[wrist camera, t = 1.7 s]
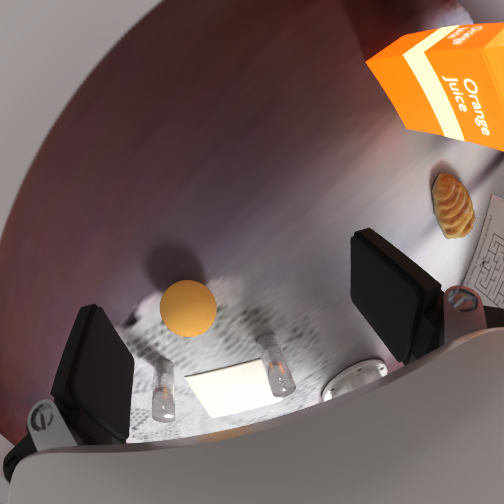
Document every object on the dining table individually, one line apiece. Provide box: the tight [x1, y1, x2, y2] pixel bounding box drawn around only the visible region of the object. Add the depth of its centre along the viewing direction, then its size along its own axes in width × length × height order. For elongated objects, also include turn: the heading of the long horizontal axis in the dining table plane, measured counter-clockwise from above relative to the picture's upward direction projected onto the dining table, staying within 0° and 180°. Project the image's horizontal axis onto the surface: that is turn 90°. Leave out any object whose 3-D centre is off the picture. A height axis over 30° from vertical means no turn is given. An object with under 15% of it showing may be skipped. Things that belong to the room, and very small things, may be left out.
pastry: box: [432, 173, 475, 239], centre depth 29 cm, size 9×7×4 cm
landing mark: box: [185, 359, 283, 418], centre depth 38 cm, size 12×12×1 cm
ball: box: [160, 280, 217, 337], centre depth 26 cm, size 6×6×6 cm
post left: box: [152, 359, 175, 423], centre depth 29 cm, size 3×3×8 cm
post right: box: [257, 333, 296, 398], centre depth 31 cm, size 3×3×8 cm
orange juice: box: [366, 23, 504, 152], centre depth 14 cm, size 8×9×20 cm
